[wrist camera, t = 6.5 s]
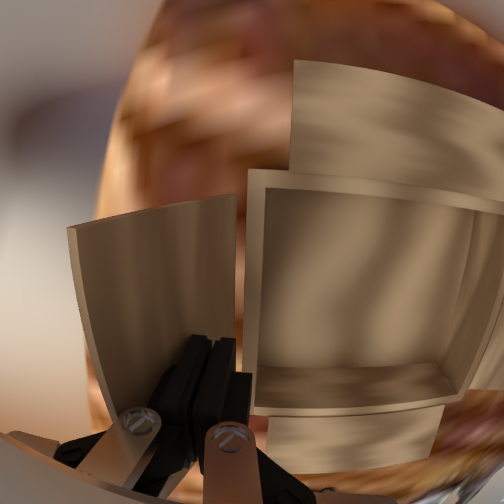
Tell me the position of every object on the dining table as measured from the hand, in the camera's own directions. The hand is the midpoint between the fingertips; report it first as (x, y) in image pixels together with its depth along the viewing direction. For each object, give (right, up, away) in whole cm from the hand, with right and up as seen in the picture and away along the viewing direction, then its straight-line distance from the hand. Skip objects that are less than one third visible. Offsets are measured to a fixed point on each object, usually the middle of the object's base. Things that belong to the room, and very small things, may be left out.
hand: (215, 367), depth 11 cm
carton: (+12, +2, +8) cm, 15 cm away
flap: (+1, +1, +4) cm, 4 cm away
